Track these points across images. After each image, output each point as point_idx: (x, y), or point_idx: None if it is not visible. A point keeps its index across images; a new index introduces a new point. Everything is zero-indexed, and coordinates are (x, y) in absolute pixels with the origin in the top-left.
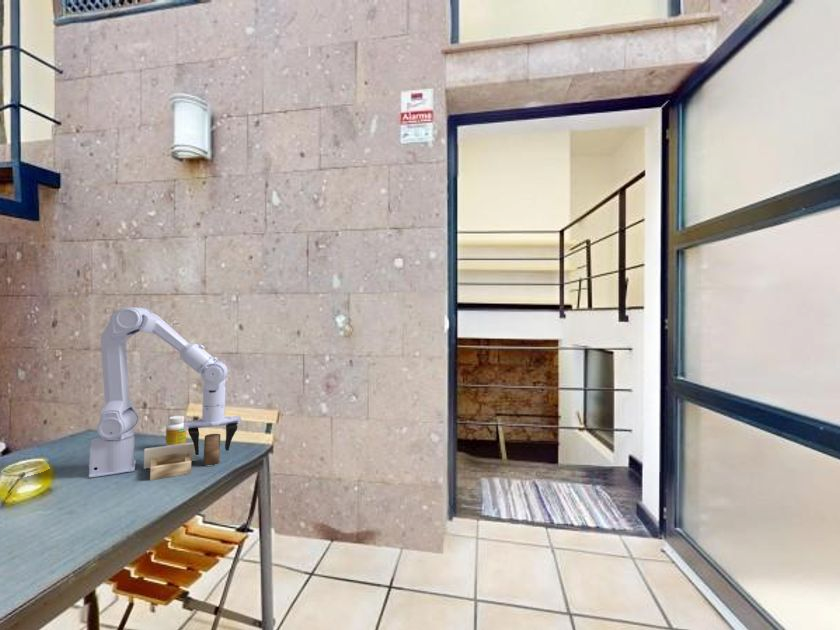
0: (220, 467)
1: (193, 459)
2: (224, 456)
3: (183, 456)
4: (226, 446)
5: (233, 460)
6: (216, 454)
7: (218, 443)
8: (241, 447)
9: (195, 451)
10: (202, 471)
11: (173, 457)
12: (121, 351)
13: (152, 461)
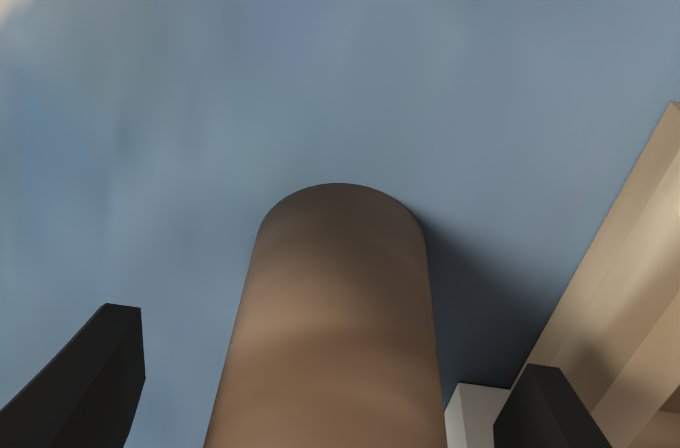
0: (282, 78)
1: (468, 401)
2: (174, 350)
3: None
4: (113, 363)
5: (93, 208)
6: (294, 284)
7: (236, 444)
8: None
9: (584, 421)
10: (525, 82)
11: None
12: None
13: None
